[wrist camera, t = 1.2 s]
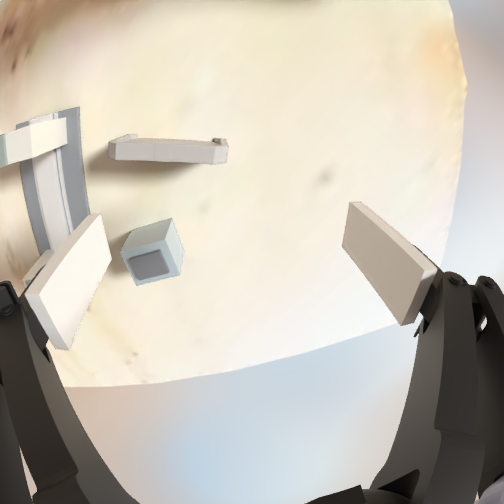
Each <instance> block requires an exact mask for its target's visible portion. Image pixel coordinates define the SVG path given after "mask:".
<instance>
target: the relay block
mask: <svg viewBox="0 0 504 504" xmlns="http://www.w3.org/2000/svg"><path fill="white" fill-rule="evenodd" d="M120 254H121V256H122V258H123V260H124V262H125V264H126V266H127V268H128V270H129V272H130V274H131V276H132V278H133V280H134V282H135V284H136V285H137V286H138V285H142V284H146V283H150V282H154V281H158V280H162V279H166V278H170V277H174V276H178V275H180V274H181V267H182V261H183V255H184V248H183V245H182V243H181V240H180V238H179V235H178V232H177V230H176V227H175V224H174V221H173V219H172V218H169V219H166V220H163V221H159V222H156V223H153V224H149V225H146V226H143V227H140V228H136V229H133V230H132V231H131V232H130V234H129V236H128V238H127V240H126V241H125V243H124V245H123V247H122V249H121V251H120Z"/></svg>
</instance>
